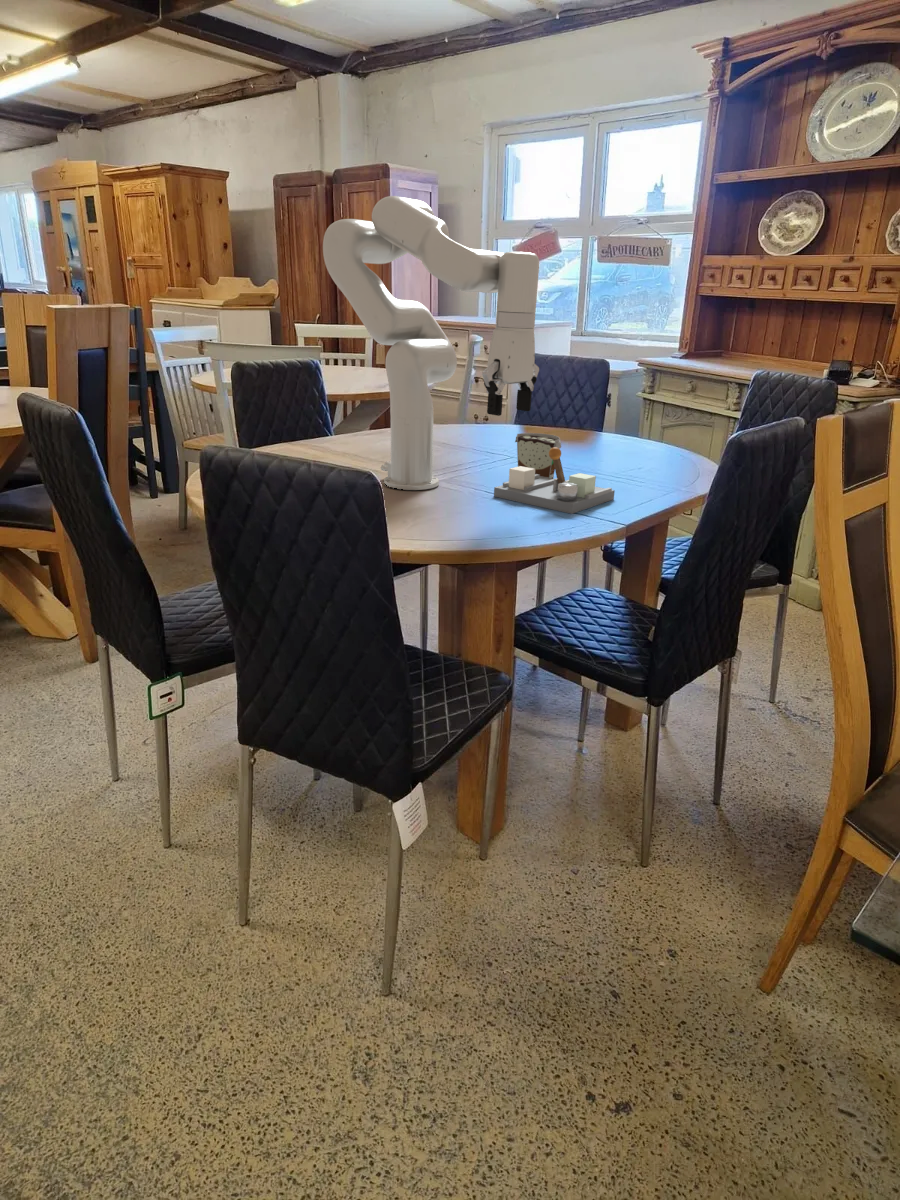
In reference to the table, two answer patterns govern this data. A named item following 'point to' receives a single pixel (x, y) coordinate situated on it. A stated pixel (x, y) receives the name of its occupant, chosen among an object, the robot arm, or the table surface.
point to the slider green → (583, 483)
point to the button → (567, 492)
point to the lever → (557, 463)
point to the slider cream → (521, 477)
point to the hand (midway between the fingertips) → (509, 412)
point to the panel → (552, 495)
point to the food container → (537, 452)
